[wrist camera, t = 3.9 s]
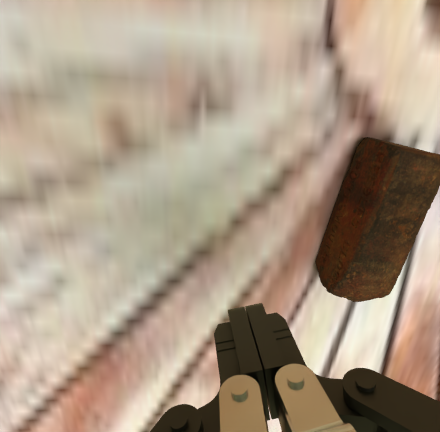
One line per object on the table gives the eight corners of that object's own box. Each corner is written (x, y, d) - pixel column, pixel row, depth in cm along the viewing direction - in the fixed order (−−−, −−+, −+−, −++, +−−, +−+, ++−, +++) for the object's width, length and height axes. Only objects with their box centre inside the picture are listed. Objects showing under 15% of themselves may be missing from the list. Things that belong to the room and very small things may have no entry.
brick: (355, 134, 23) (396, 144, 19) (405, 145, 24) (456, 158, 19) (309, 269, 27) (334, 304, 22) (354, 275, 27) (387, 311, 23)
